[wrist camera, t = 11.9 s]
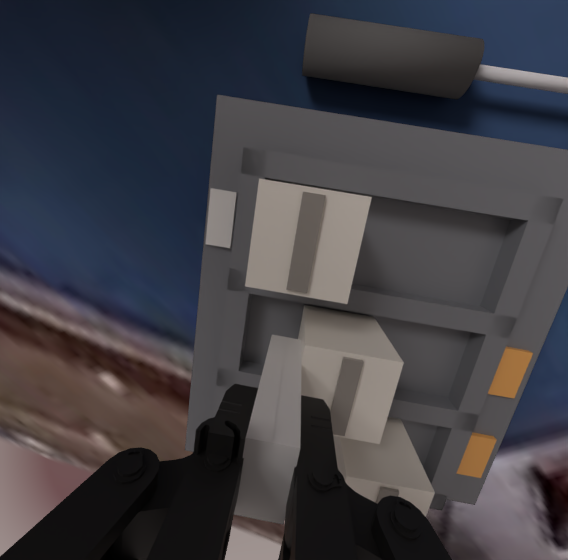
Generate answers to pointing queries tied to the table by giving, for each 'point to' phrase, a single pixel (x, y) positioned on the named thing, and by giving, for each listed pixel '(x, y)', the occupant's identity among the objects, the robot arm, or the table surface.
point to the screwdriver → (406, 59)
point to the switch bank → (396, 269)
